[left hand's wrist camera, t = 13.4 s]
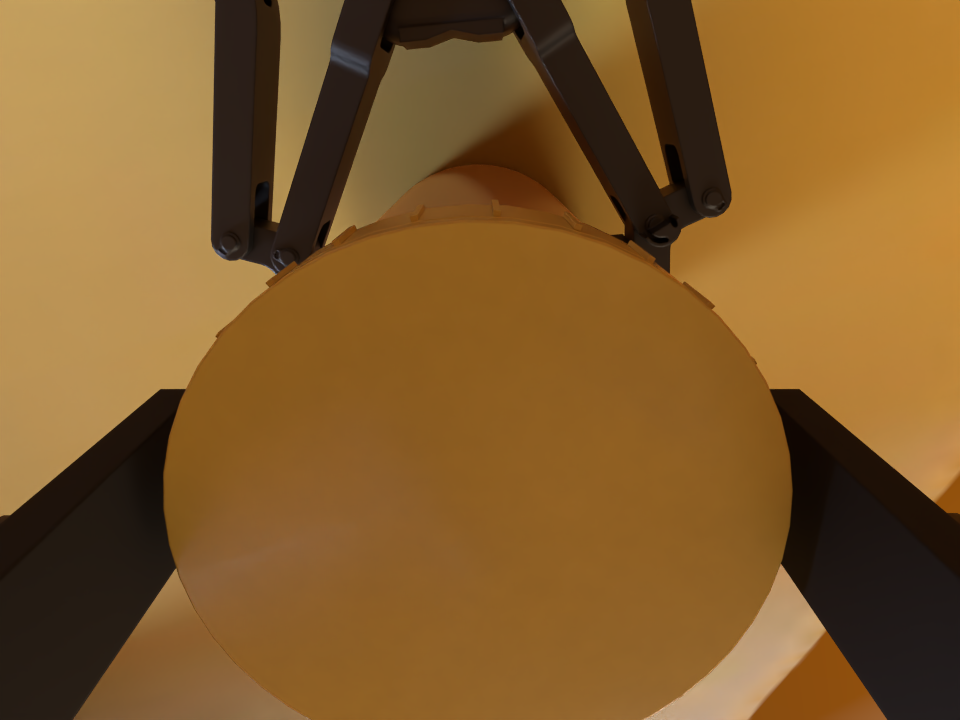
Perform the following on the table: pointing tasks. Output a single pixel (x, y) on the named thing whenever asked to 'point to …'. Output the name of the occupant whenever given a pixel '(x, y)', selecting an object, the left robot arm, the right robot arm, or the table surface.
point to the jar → (478, 191)
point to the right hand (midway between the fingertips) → (488, 424)
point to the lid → (477, 476)
